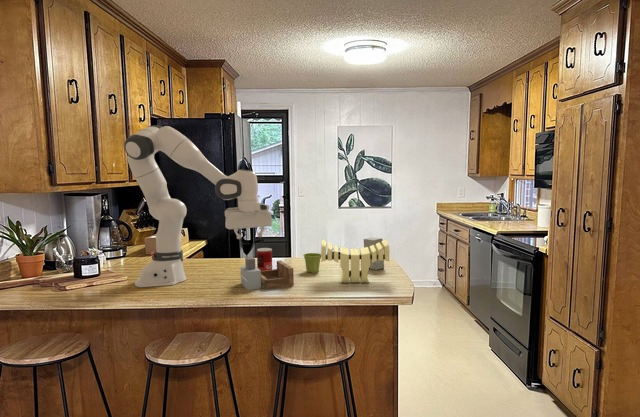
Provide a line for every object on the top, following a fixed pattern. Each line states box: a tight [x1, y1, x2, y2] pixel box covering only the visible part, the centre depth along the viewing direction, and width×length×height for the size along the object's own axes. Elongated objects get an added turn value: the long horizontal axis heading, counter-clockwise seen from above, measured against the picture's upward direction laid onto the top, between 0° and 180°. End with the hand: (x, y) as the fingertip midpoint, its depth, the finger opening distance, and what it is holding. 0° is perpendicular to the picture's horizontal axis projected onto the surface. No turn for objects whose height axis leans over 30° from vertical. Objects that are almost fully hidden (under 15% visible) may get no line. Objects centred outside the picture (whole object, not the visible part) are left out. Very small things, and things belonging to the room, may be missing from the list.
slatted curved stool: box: [320, 239, 390, 284], centre depth 188 cm, size 30×16×18 cm, turn 87°
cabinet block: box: [240, 256, 262, 291], centre depth 181 cm, size 6×12×12 cm, turn 24°
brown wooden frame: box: [261, 260, 295, 290], centre depth 185 cm, size 18×13×8 cm
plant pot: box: [303, 252, 321, 274], centre depth 206 cm, size 9×9×9 cm
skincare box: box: [363, 236, 385, 271], centre depth 211 cm, size 8×7×16 cm
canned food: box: [256, 247, 273, 271], centre depth 210 cm, size 8×8×11 cm
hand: (249, 237), depth 179 cm, fingers open, 8 cm apart
